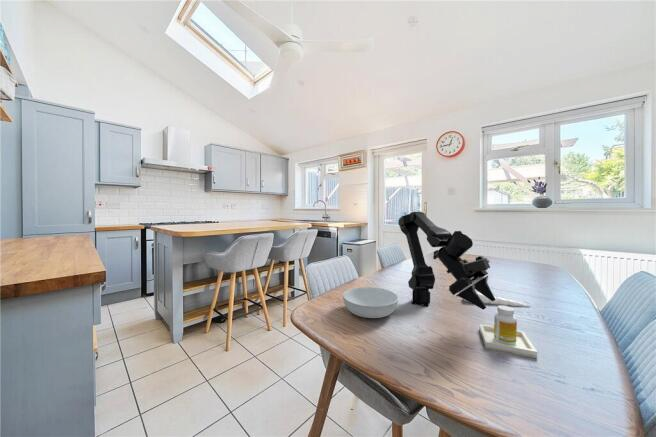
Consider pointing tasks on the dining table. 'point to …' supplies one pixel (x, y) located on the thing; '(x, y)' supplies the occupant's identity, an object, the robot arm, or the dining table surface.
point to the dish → (519, 348)
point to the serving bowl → (370, 301)
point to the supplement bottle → (505, 325)
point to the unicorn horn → (499, 301)
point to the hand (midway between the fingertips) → (489, 304)
